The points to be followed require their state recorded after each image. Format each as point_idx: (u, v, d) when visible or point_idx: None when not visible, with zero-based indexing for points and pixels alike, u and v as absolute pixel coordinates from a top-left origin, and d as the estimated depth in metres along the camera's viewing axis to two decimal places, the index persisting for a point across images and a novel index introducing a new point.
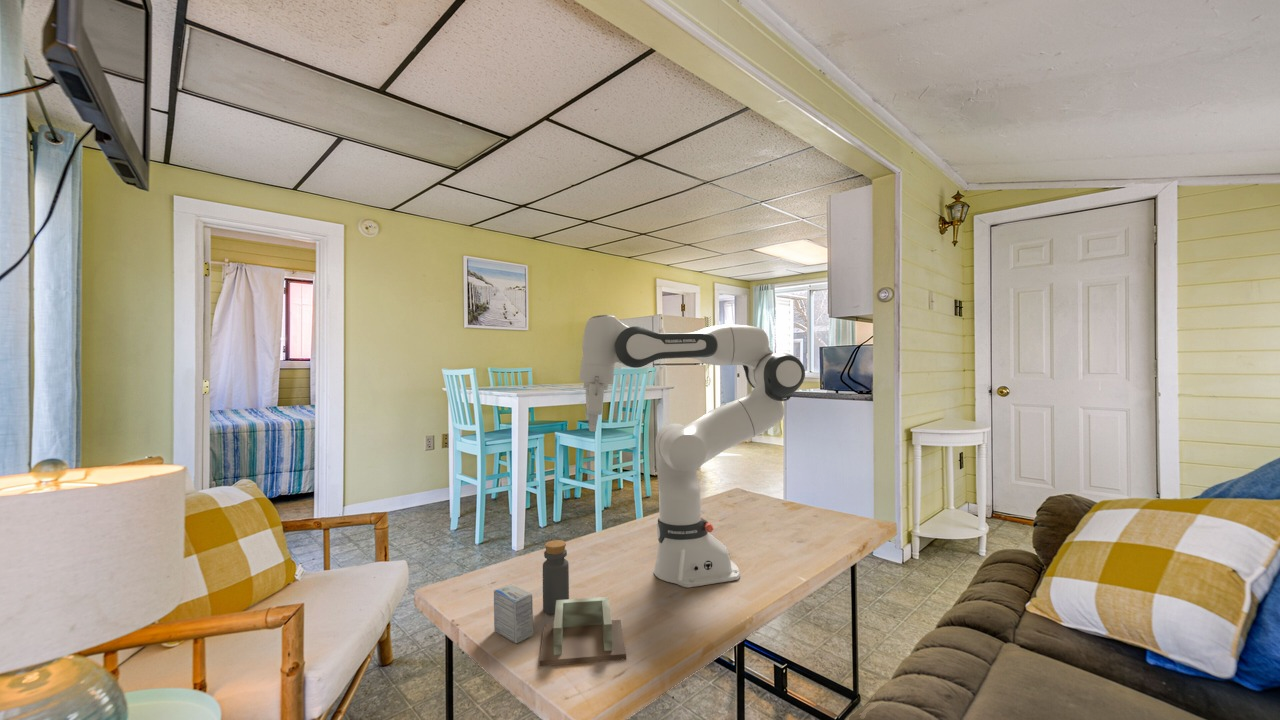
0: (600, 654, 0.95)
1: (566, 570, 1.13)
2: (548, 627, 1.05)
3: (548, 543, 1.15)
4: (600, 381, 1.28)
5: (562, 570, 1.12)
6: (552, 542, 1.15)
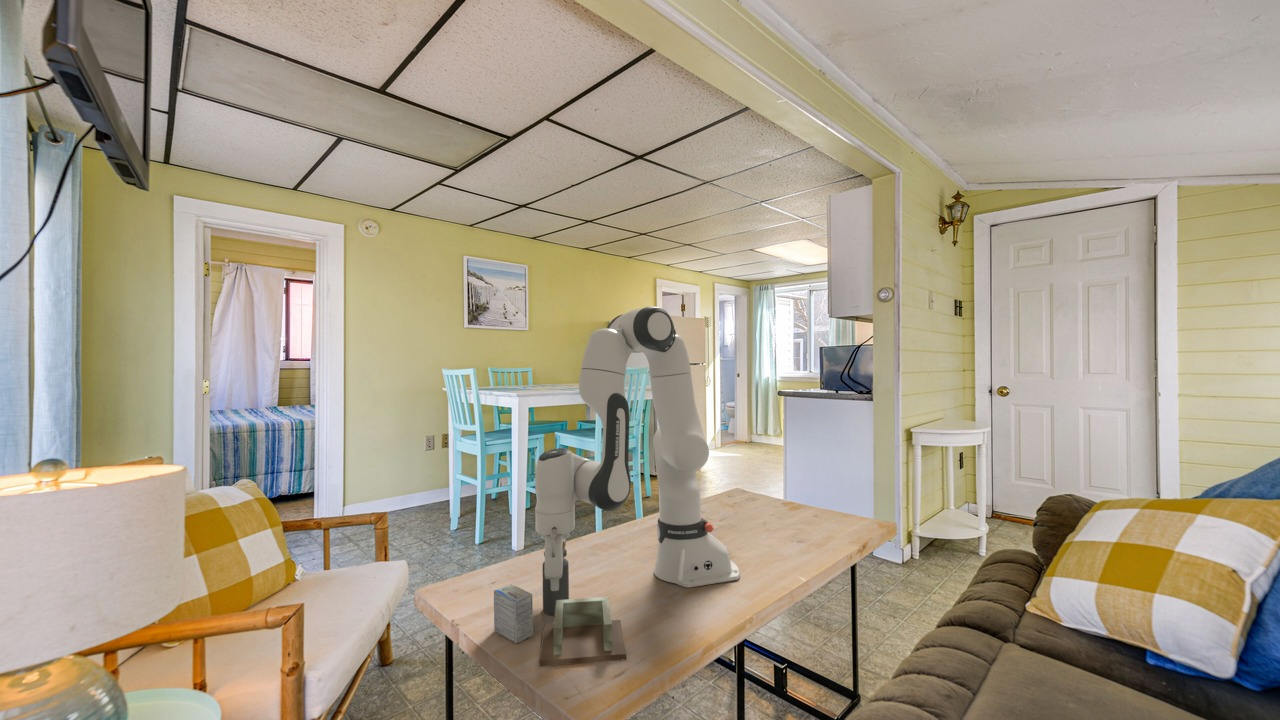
0: (600, 654, 0.95)
1: (566, 570, 1.13)
2: (548, 627, 1.05)
3: None
4: (558, 532, 1.10)
5: None
6: None
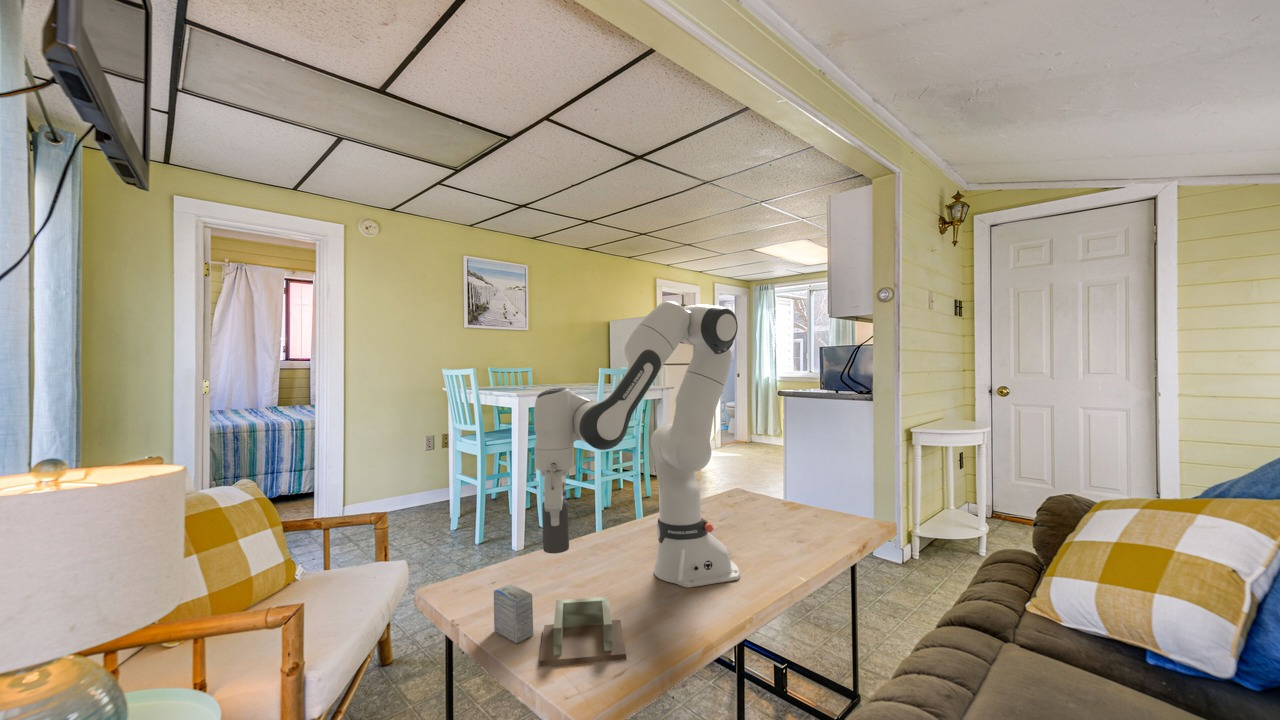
0: (600, 654, 0.95)
1: (566, 509, 1.13)
2: (548, 627, 1.05)
3: None
4: (558, 468, 1.11)
5: (562, 508, 1.13)
6: None
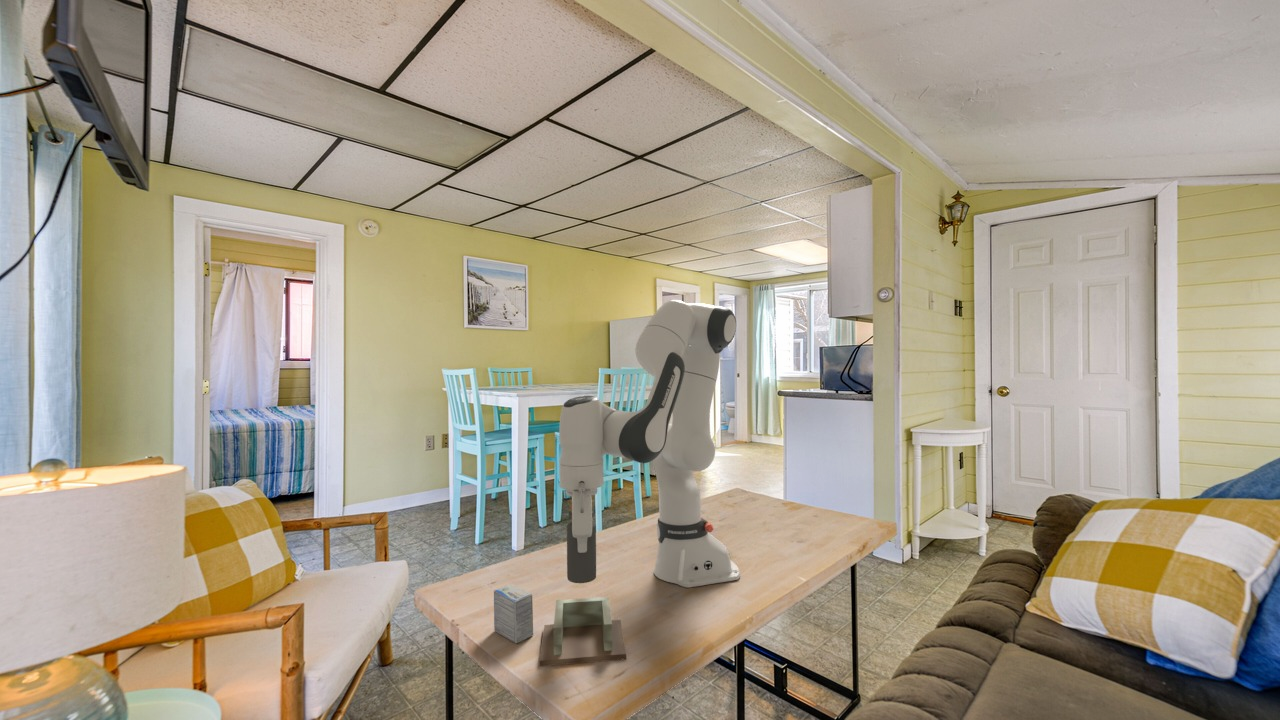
0: (600, 654, 0.95)
1: (593, 533, 1.01)
2: (548, 627, 1.05)
3: None
4: (586, 487, 0.98)
5: None
6: None
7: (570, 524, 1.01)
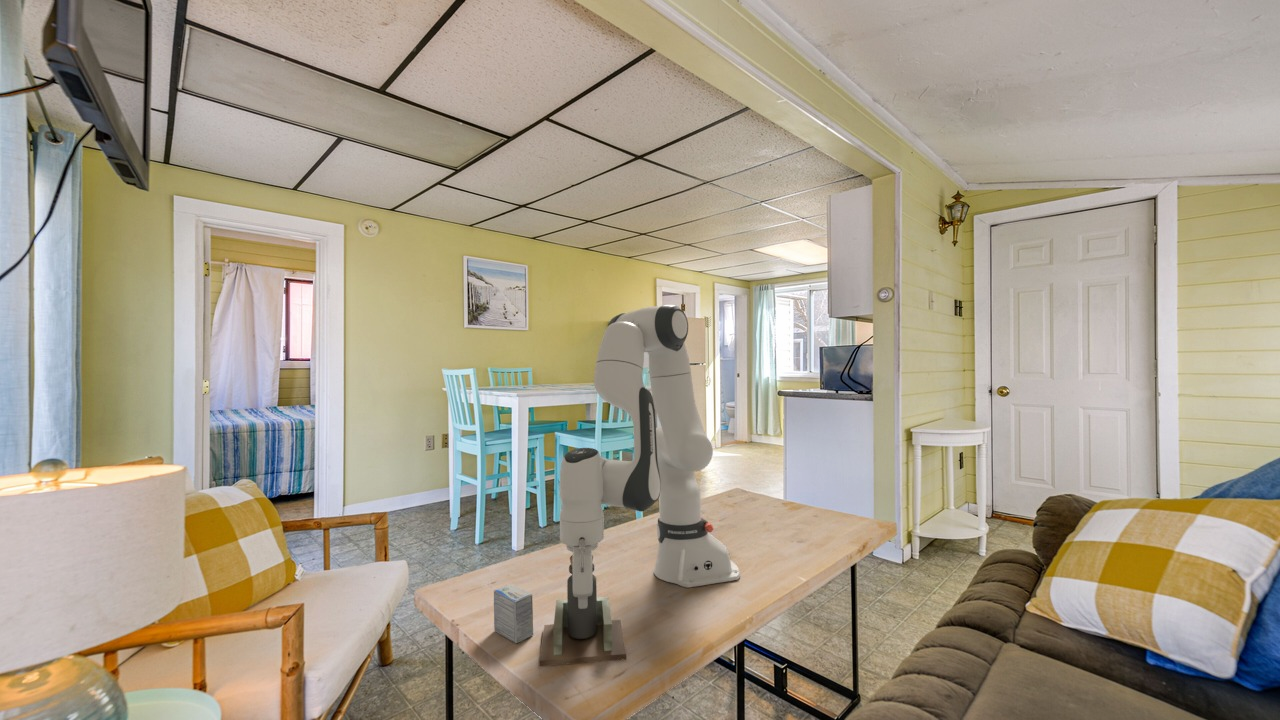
0: (600, 654, 0.95)
1: (594, 587, 1.01)
2: (548, 627, 1.05)
3: None
4: (587, 543, 0.98)
5: None
6: None
7: (570, 578, 1.01)
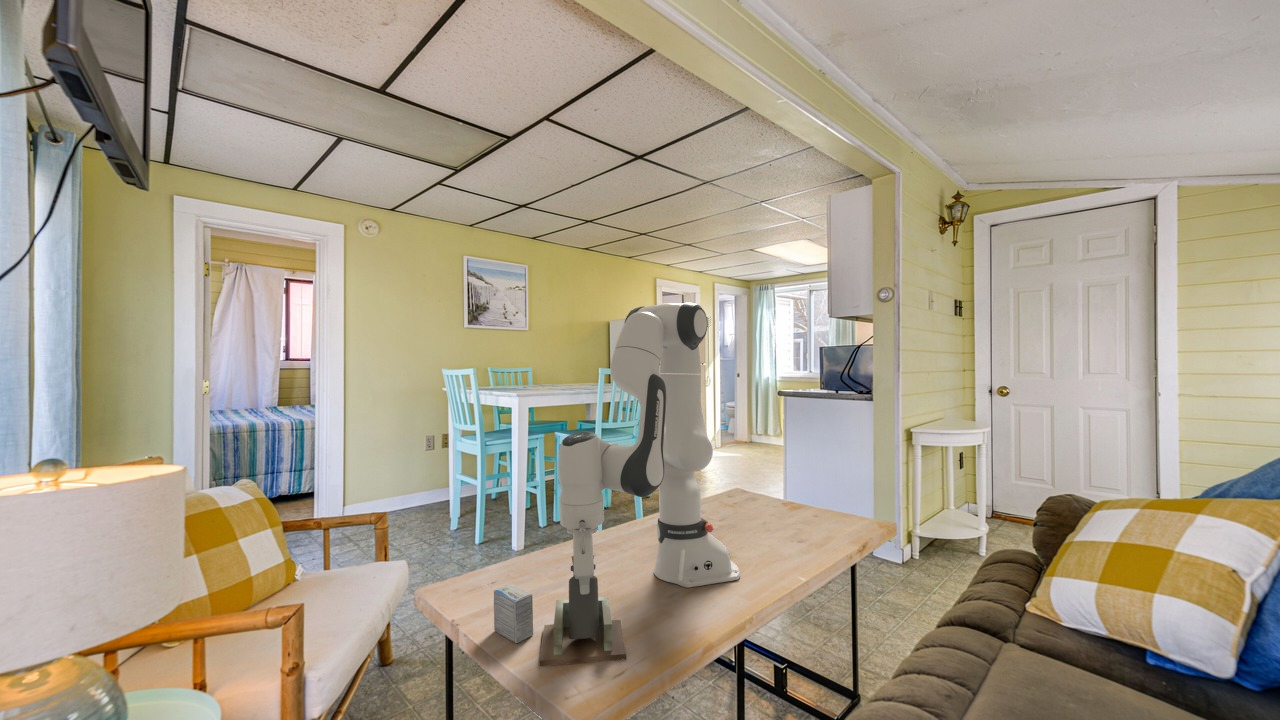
0: (600, 654, 0.95)
1: (595, 584, 1.01)
2: (548, 627, 1.05)
3: None
4: (587, 526, 0.98)
5: (591, 582, 1.00)
6: None
7: (572, 577, 1.02)
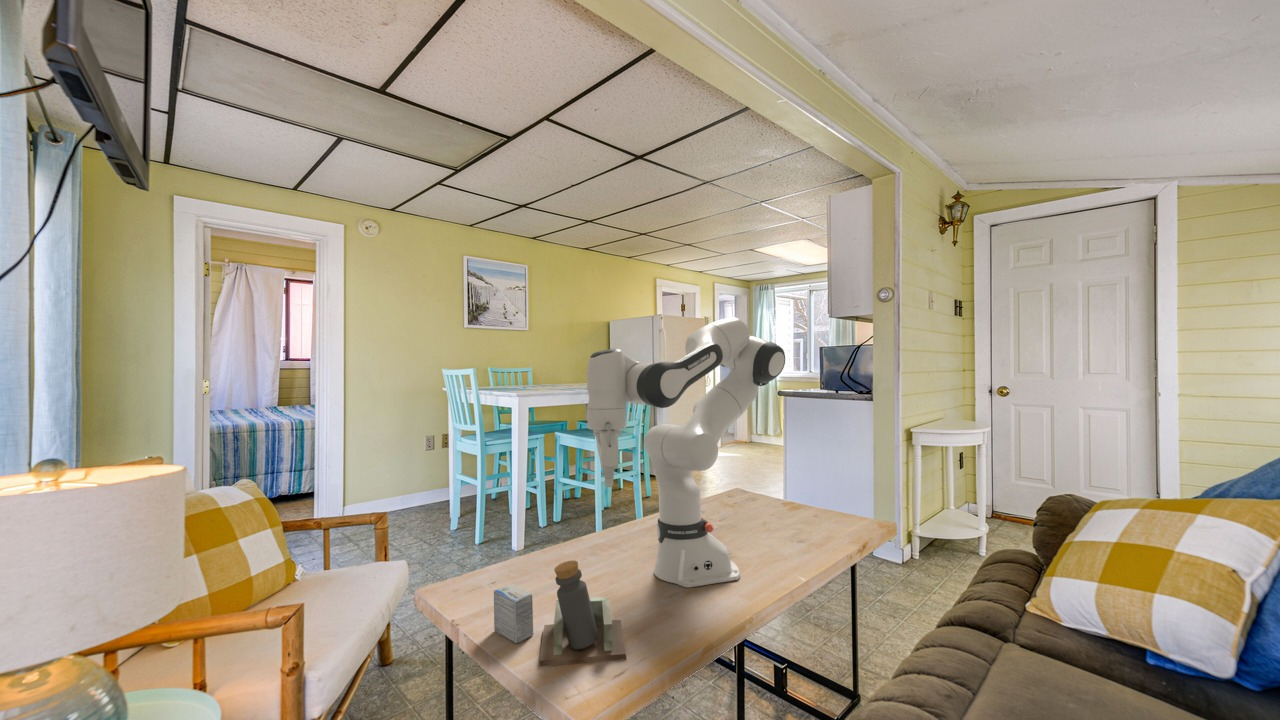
0: (600, 654, 0.95)
1: (585, 593, 0.97)
2: (548, 627, 1.05)
3: (558, 567, 0.98)
4: (612, 427, 1.10)
5: (580, 593, 0.96)
6: (562, 565, 0.99)
7: (559, 590, 0.97)
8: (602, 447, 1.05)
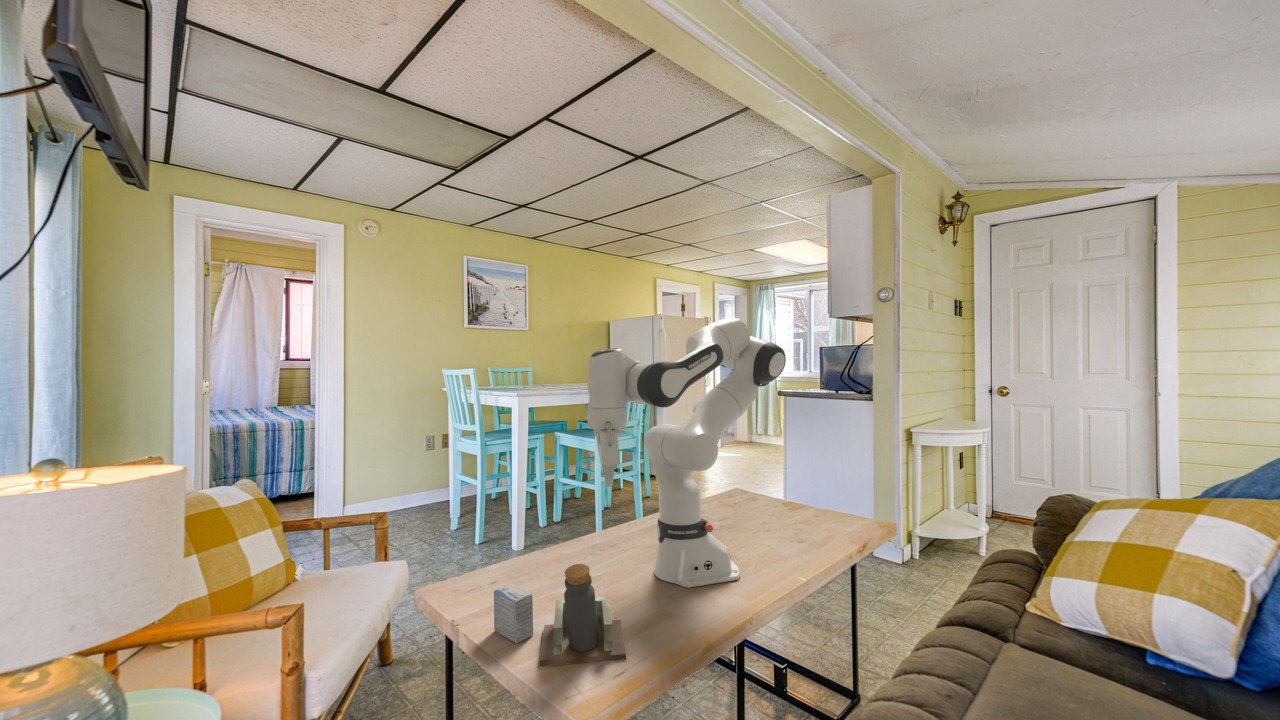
0: (600, 654, 0.95)
1: (593, 599, 0.96)
2: (548, 627, 1.05)
3: (569, 571, 0.96)
4: (612, 427, 1.10)
5: (589, 600, 0.95)
6: (573, 568, 0.96)
7: (567, 594, 0.95)
8: (602, 446, 1.05)
